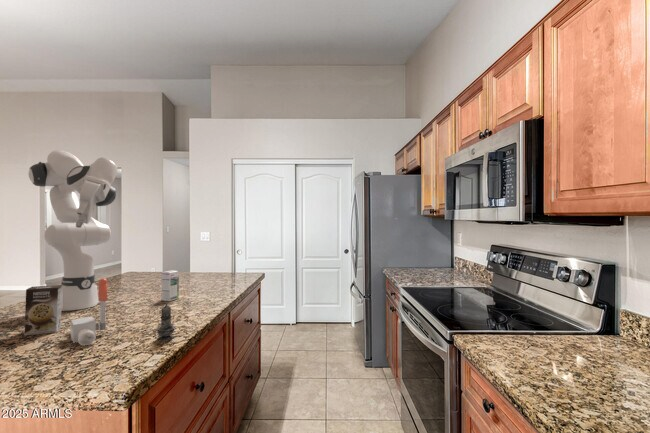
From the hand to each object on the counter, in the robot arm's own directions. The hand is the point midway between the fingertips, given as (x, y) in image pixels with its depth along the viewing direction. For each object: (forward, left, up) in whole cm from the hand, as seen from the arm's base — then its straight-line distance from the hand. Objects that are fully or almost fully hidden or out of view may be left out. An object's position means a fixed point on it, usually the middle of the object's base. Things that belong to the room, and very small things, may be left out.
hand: (78, 220), depth 116 cm
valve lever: (+10, +3, -39) cm, 40 cm away
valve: (+8, -2, -40) cm, 41 cm away
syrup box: (-12, +48, -41) cm, 64 cm away
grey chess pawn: (+33, +11, -41) cm, 53 cm away
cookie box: (-12, -5, -41) cm, 43 cm away
